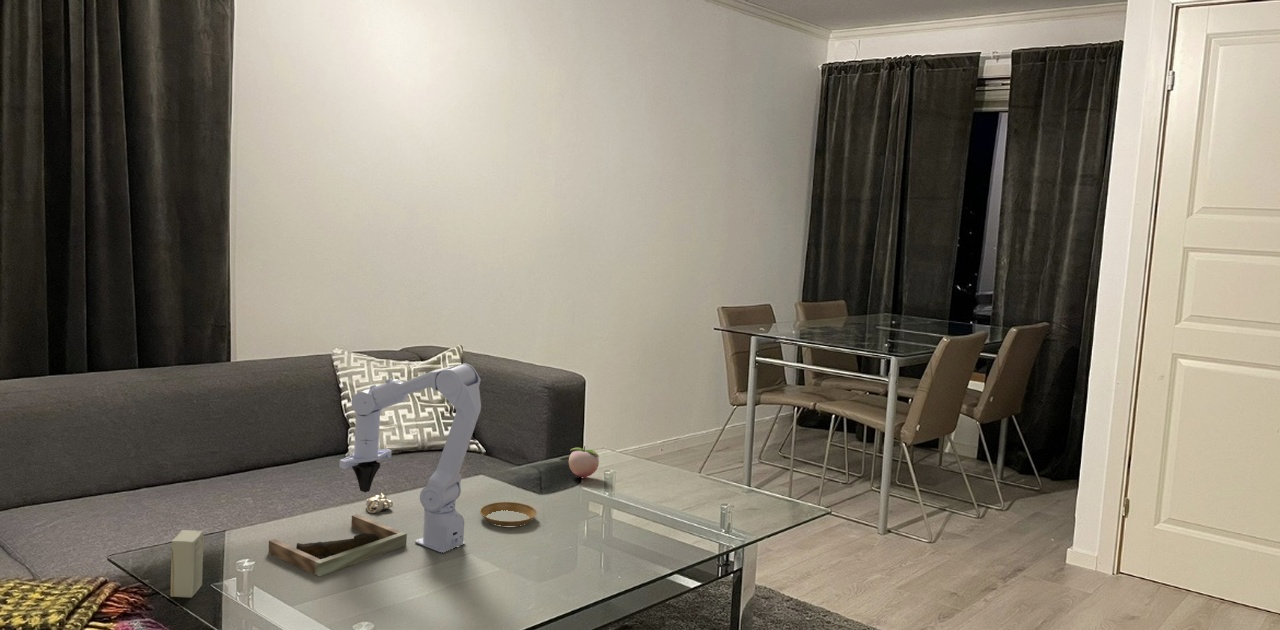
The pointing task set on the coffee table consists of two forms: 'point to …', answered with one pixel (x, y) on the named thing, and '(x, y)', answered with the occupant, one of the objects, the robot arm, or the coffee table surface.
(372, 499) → the ornament
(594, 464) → the decorative fruit
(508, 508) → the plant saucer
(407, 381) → the robot arm
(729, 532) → the coffee table surface
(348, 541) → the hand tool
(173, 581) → the skincare box
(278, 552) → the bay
